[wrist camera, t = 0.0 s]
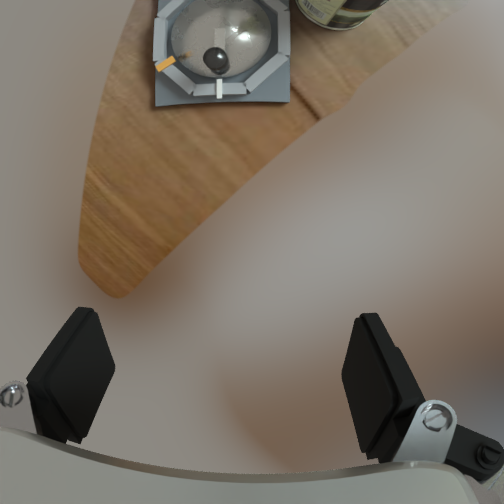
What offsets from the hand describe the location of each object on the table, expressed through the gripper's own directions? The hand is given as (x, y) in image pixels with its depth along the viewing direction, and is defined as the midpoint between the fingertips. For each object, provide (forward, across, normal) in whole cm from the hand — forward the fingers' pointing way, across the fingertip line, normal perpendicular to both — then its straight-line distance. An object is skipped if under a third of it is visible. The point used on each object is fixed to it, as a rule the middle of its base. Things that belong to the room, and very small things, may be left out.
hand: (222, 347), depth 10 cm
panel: (+31, +3, -19) cm, 37 cm away
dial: (+30, +3, -19) cm, 36 cm away
